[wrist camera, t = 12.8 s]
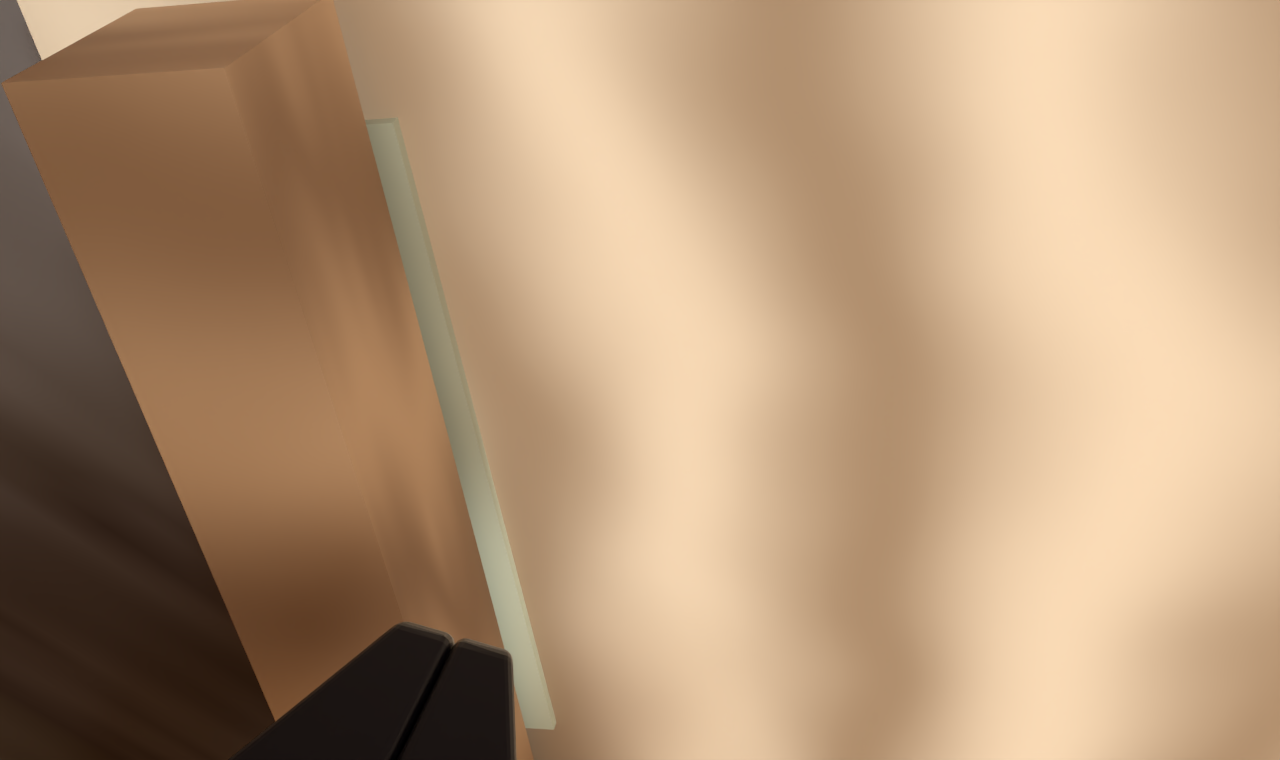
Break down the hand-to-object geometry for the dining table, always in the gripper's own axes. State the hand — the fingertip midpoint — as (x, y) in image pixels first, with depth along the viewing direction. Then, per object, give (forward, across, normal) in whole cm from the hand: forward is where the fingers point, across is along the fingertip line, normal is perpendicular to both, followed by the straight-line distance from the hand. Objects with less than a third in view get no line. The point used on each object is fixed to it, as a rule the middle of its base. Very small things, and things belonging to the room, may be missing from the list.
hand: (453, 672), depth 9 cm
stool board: (+12, -4, +7) cm, 15 cm away
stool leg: (+9, +3, +9) cm, 13 cm away
